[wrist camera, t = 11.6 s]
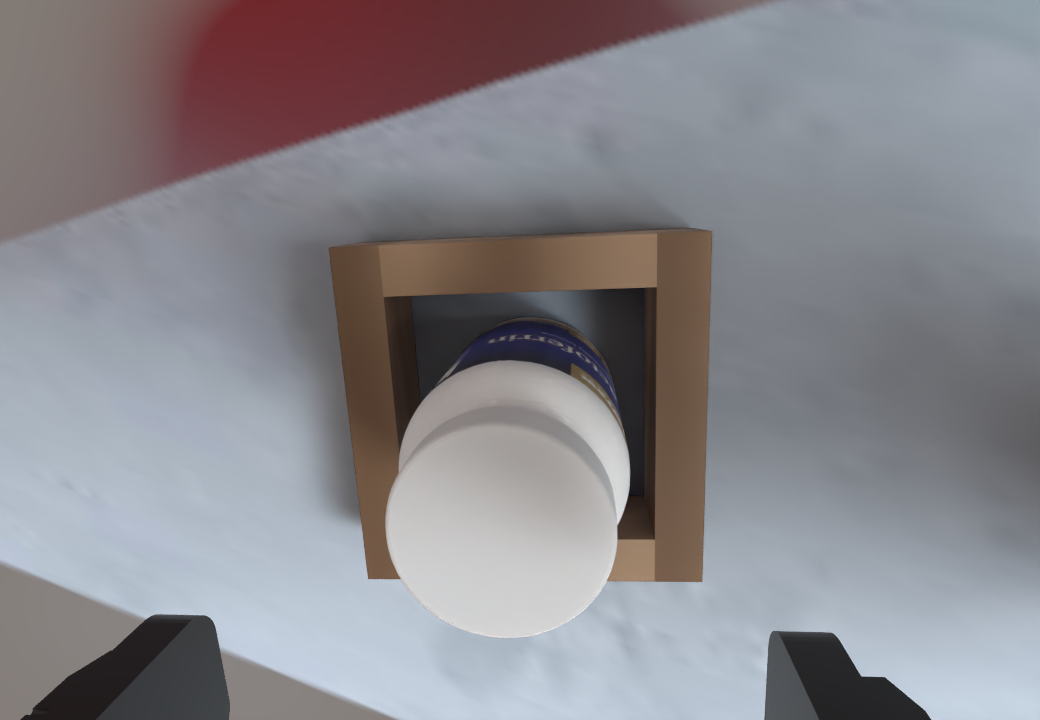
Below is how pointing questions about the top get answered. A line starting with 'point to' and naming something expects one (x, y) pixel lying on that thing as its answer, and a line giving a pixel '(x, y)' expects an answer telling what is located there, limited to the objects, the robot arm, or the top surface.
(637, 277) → the socket block
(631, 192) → the top surface
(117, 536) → the top surface
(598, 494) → the pill bottle
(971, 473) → the top surface
